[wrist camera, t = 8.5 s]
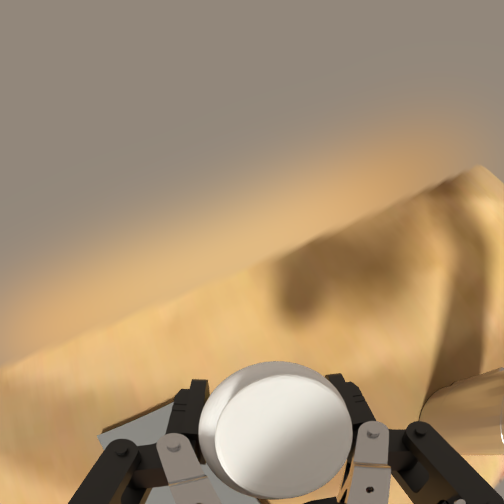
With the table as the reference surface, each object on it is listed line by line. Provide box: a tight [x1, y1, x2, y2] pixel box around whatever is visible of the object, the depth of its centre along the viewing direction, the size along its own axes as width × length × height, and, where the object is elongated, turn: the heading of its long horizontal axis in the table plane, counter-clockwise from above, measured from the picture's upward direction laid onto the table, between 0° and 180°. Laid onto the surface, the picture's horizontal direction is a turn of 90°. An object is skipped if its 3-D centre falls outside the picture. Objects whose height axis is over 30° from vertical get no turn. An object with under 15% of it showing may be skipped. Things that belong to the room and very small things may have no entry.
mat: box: [97, 402, 261, 504], centre depth 22 cm, size 12×17×1 cm
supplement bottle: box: [198, 361, 353, 500], centre depth 11 cm, size 6×6×10 cm
